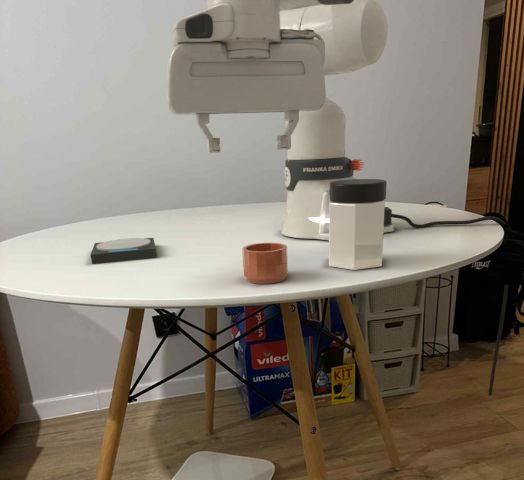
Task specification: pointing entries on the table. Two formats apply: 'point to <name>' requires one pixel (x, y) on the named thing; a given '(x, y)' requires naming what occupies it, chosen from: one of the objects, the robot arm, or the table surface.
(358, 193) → the jar
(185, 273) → the table surface
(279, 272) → the cup
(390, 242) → the table surface
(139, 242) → the scale
